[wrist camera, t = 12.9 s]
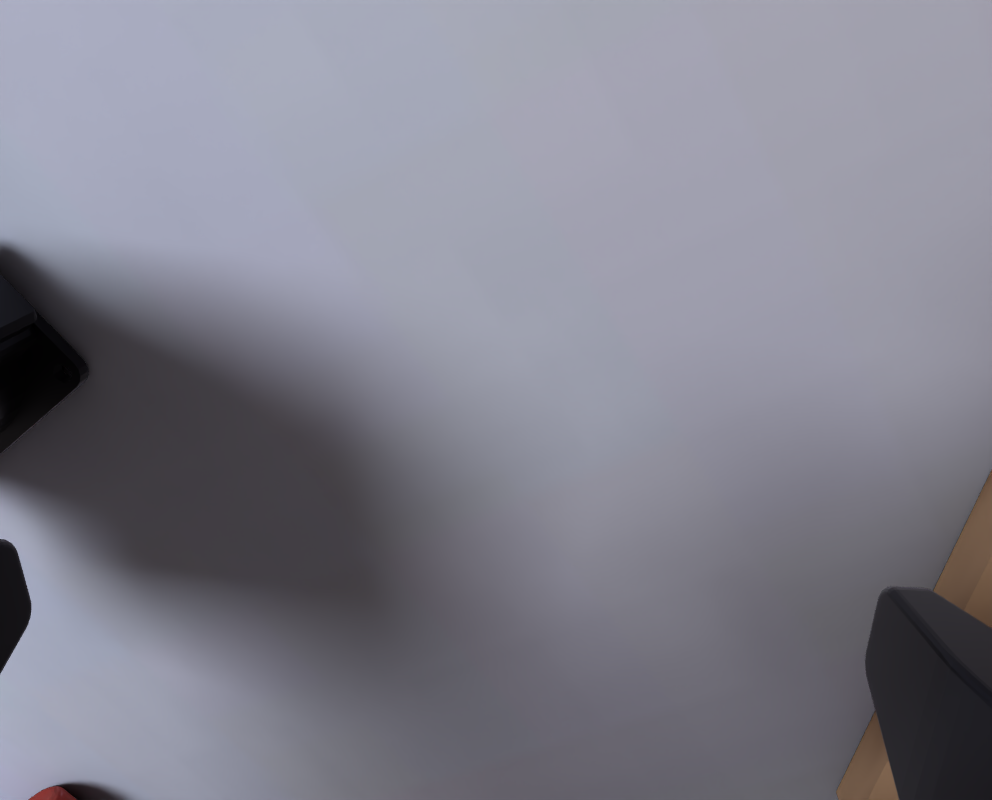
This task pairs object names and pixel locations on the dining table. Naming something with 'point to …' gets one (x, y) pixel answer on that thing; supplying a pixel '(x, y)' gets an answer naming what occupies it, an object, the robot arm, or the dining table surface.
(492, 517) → the dining table surface
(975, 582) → the game board
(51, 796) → the toy fire truck
